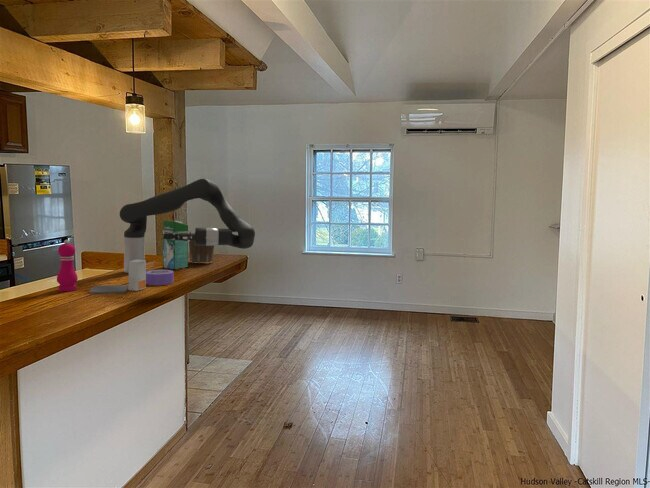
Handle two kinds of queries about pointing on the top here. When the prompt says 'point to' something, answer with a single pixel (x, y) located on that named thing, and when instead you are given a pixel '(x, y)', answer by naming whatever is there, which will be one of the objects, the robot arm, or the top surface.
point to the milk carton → (174, 246)
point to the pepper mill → (66, 268)
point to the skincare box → (137, 275)
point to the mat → (109, 289)
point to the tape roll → (159, 277)
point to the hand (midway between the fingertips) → (163, 236)
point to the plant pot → (200, 252)
